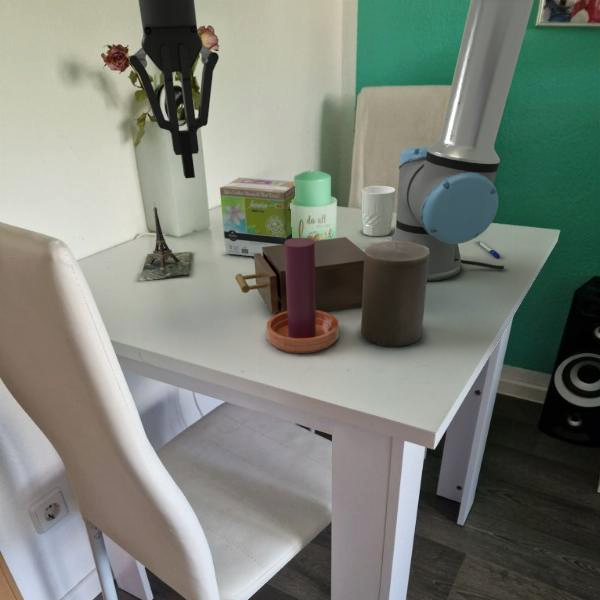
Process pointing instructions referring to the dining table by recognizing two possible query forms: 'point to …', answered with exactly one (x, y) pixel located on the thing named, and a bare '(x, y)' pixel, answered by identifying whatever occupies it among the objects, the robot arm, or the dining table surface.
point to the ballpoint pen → (490, 250)
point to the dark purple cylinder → (300, 287)
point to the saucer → (324, 338)
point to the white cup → (377, 210)
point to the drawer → (263, 282)
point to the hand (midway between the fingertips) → (189, 176)
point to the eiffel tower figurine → (164, 259)
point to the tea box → (256, 214)
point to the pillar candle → (394, 292)
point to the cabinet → (327, 273)
